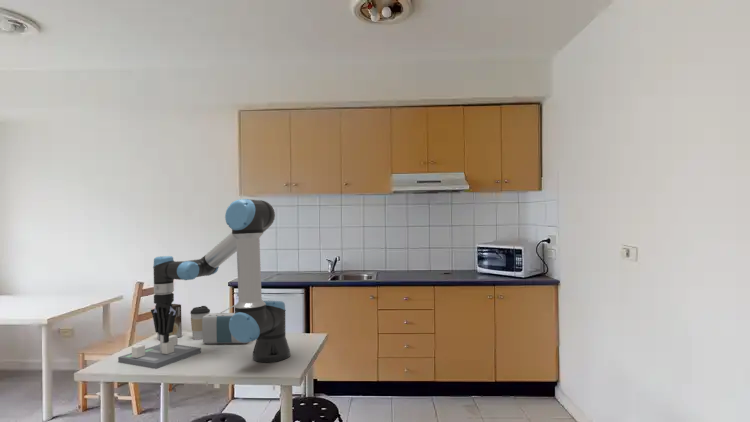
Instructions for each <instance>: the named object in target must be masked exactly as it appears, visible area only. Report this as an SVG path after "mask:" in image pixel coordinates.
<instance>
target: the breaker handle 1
mask: <svg viewBox="0 0 750 422" xmlns="http://www.w3.org/2000/svg"><path fill="white" fill-rule="evenodd" d="M145 349H146V345H144V344H137V345H134V346H131V353H132V357H135V358H138V357H141V356H144V355H145Z"/></svg>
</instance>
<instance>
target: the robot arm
mask: <svg viewBox="0 0 750 422" xmlns="http://www.w3.org/2000/svg"><path fill="white" fill-rule="evenodd" d="M275 217H276V213H275V210H274V207H273V205H271V204H270V203H269V202H268V201H265V200H260V199H259V200H257V199H248V198H243V199H241V198H240V199H237V200H234V201H232V202H231V203H230V204H229V205H228V207H227V209H226V210H225V216H224V218H225V223H226V225H228V227H229V228H230V229H231V232H230V233H229V234H228V235H227V236H225V238H223V240H221V241H220V242H218V243H217V244H216V245H215V246H214V247H213V248H212V249H211V250H210V251H208V252H207V253H206V254H205V255H204V256H202V257H201V258H198V259H191V260H181V261H178V260H177V261H176V260H174V257H173V256H171V255H170V256H169V255H165V256H164V255H163V256H156V257H154V259H153V267H152V268H153V293H154V295H153V304H155V306H154V308H152V309H150V313H151V314H152V319H153V325H154V332H155V333H157V332H158V333H159V337H160V340H159V342H160V343H159V344H160V351H162V343H166V342H169V333H172V332H173V328H174V322H175V316H176V314H177V310H174V309H173V306H172V304H173V302H174V301H175V300H174V299H175V296H174V295H175V294H174V293H173V292H174V291H175V288H174V287H175V286H174V285H175V283H174V281H175V280H180V281H181V280H182V281H191V280H195V279H196V278H199V277H207V276H212V275H214V274H216V273H217V272H218V270H219V268H220V266H221V265H222V264H224V262H226V261H227V260H228V259H230V257H233V255H234V254H235V253H236V263H237V290H238V291H237V293H238V294H237V295H238V302H237V303H236V304H234V305H235V306H234V313H235V314H234V315H233V316H232V318H231V319H230V321H229V330H230V332H231V334H232V336H233V337H235V339H236V340H238V341H240V342H244V343H245V344H247V343H250V342H253V341H255V343H254V347H253V351H252V360H253V361H255V362H258V363H274V362H280V361H283V360H286V359H288V358H290V356H291V350H290V347H289V343H288V340H287V336H286V335H287V334H286V305H285V302H283V301H282V300H263V297H262V274H261V269H262V268H261V247H260V245H261V244H260V238H261V237H262V236H263V235H264V232H266V231H267V230H268V229H269V228H270V227H271V226H272V225H273V223H274V222H275ZM244 343H243V344H244Z"/></svg>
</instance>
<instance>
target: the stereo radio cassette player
mask: <svg viewBox="0 0 750 422" xmlns="http://www.w3.org/2000/svg"><path fill="white" fill-rule="evenodd" d="M235 305H236V304H234V305H232V306H230V307H228V308H227V309H225V310H223V311H220V312H210V313H209V314H207V315H205V316H203V318H202V338H203V339H202V343H204V344H206V345H209V344H211V345H212V344H214V345H216V344H217V345H218V344H220V345H221V344H223V345H224V344H245V345H246V343H244V342H240V341H238V340H236V339H235V337H233V336H232V334H231V332H230V330H229V321H230V319H231V318H232V316H233V315H234V314H235V312H226V311H229V310H230V309H232V308H235Z"/></svg>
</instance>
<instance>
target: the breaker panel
mask: <svg viewBox="0 0 750 422" xmlns="http://www.w3.org/2000/svg"><path fill="white" fill-rule="evenodd" d="M201 349H202V348H201V347H198V346H190V345H183V344H178V345H175V346H174V352H172V353H169V354H163V353H162V351H160V343H159V344H157V345H154V346H150V347H147V348H146V347H145V355H144V356H141V357H138V358H135V357H132V352H131V353H127V354H124V355H121V356H118V357H117V359H118V363H122V364H126V365H133V366H138V367H145V368H151V369H154V370H155V369H159V368H162V367H165V366H168V365H170V364H173V363H176V362H179V361H182V360H185V359H187V358H190V357H192V356H196V355H198V354H201V352H202V350H201Z"/></svg>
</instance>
